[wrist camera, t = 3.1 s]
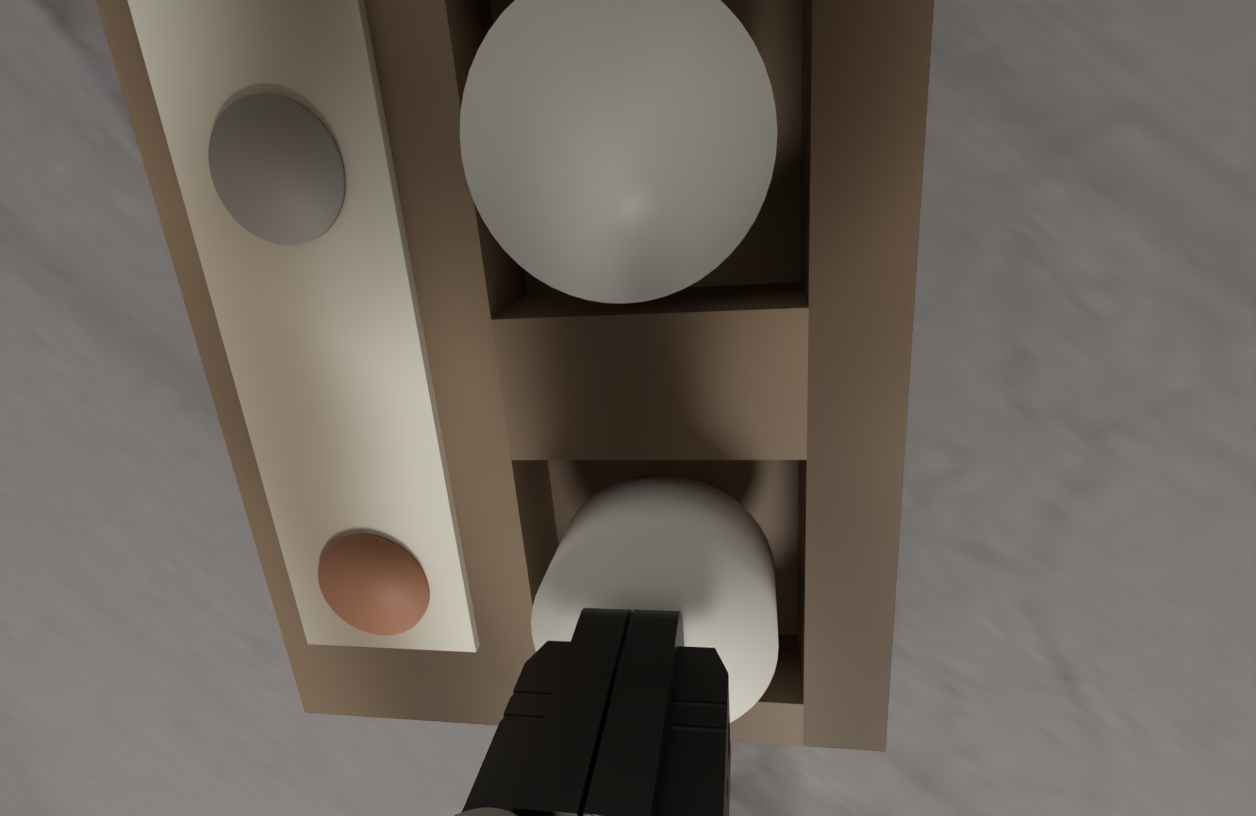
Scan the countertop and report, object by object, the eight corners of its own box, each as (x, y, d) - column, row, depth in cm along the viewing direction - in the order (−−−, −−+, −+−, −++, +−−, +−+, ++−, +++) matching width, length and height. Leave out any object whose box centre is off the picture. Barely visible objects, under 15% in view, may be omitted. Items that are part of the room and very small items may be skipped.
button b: (771, -26, 10) (776, -63, 8) (773, 269, 11) (778, 297, 9) (491, 7, 10) (435, -20, 9) (525, 281, 12) (484, 309, 10)
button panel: (933, -868, 9) (1034, -1425, 5) (862, 645, 16) (888, 765, 13) (78, -604, 11) (-193, -901, 8) (372, 624, 18) (296, 723, 15)
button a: (773, 474, 12) (778, 534, 10) (774, 662, 14) (779, 745, 12) (549, 473, 13) (516, 529, 11) (572, 653, 14) (545, 729, 13)
